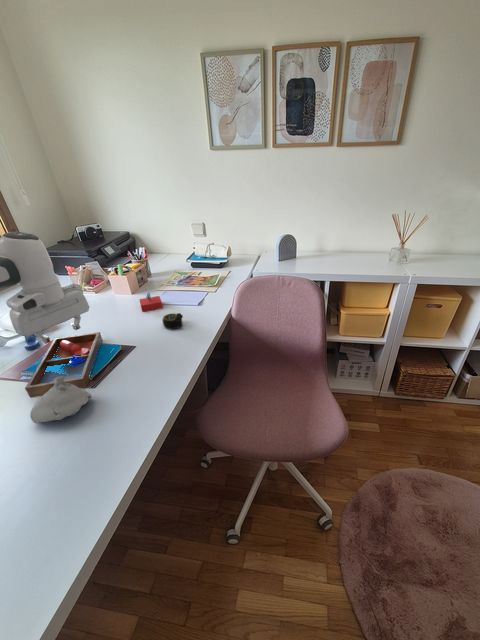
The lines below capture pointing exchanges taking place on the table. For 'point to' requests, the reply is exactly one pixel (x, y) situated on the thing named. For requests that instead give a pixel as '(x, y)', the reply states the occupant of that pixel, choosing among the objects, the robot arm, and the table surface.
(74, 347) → the red spoon
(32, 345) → the blue elongated piece
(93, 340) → the sorting tray
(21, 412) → the table surface
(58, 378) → the grey clay mound
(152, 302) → the red rectangular block
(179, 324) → the tape measure
